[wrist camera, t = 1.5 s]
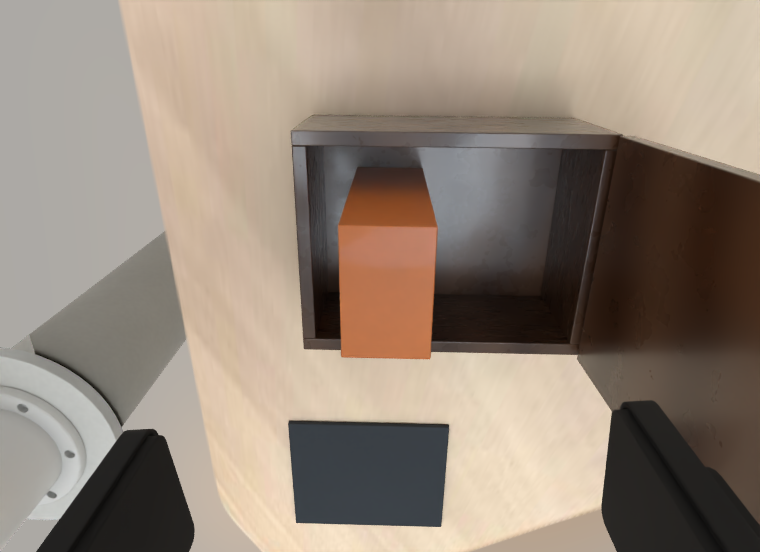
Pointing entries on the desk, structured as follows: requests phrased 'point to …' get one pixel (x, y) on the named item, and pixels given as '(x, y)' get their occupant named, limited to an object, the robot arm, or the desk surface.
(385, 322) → the block
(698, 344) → the lid
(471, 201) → the chest
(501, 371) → the desk surface
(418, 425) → the mat
